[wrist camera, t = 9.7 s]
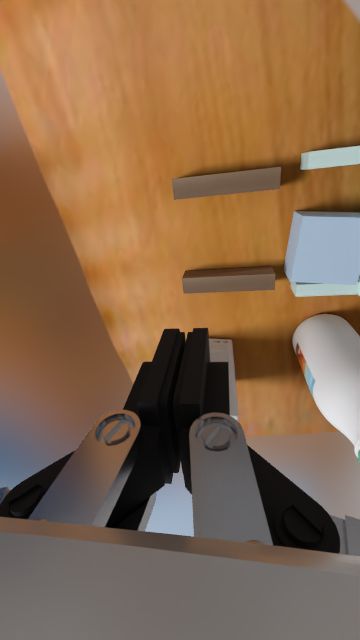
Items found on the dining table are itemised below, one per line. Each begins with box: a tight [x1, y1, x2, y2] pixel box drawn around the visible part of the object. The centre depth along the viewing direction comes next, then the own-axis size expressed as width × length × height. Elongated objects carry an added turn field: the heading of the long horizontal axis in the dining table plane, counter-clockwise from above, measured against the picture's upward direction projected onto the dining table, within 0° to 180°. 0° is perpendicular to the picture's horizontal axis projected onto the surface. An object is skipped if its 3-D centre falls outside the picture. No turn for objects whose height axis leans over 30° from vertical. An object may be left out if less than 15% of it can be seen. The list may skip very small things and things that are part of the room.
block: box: [283, 211, 360, 285], centre depth 32 cm, size 7×7×4 cm
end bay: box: [291, 146, 360, 297], centre depth 30 cm, size 15×8×4 cm, turn 6°
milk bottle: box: [292, 314, 360, 462], centre depth 30 cm, size 8×8×20 cm
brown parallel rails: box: [172, 167, 281, 294], centre depth 33 cm, size 13×11×3 cm
